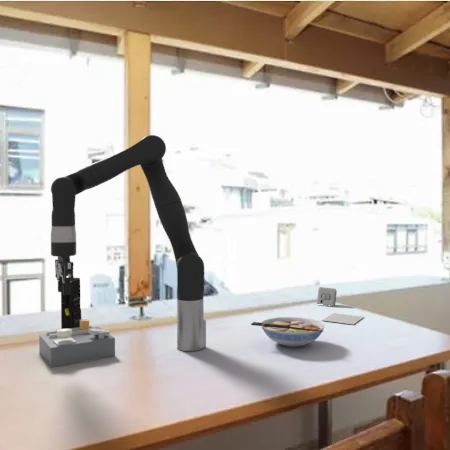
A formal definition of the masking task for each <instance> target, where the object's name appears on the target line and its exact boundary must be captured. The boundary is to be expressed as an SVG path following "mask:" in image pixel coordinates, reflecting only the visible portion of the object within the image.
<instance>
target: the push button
mask: <svg viewBox="0 0 450 450" xmlns="http://www.w3.org/2000/svg"><path fill="white" fill-rule="evenodd" d="M56 331H57V338H61V339H63V338H69V337H72V329H61V328H60V329H57V330H56Z"/></svg>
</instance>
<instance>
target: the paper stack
mask: <svg viewBox="0 0 450 450" xmlns="http://www.w3.org/2000/svg"><path fill="white" fill-rule="evenodd" d="M362 319H364V316H361V315H360V316H359V315H353V314H344V313H337V312H336V313H335V312H333V313H331V314H330V315H328V316H327V317H325V318H323V319H322V321H325V322H330V323H331V322H332V323H333V322H334V323H339V324H346V325H355V324H356V323H357V322H359V321H360V320H362Z"/></svg>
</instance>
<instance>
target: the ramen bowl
mask: <svg viewBox="0 0 450 450" xmlns="http://www.w3.org/2000/svg"><path fill="white" fill-rule="evenodd" d="M250 325H251V326H255V327H256V326H259V327H261V329H262V330H263V332H264V333H265V335H266V336H267V337H268V338H269V339H270V340H271V341H272V342H274V343H277V344H279V345H282V346H284V347H287V348H300V347H302V346H305V345H308V344H310V343H313V342H314V341H316V340H317V339H318V338H319V337H320V336H321V334H322V333H323V332H324V329H325V324H324V323H323V322H321V321H319V320H315V319H312V318H306V317H297V316H296V317H295V316H282V317H281V316H279V317H272V318H267V319H264V320H262V321H261V322H260V321H259V322H257V321H252V322H251V324H250Z"/></svg>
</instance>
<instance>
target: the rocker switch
mask: <svg viewBox="0 0 450 450" xmlns="http://www.w3.org/2000/svg"><path fill="white" fill-rule="evenodd" d="M88 332H89V333H90V334H91V335H99V333H100V332H104V335H106V336H109V334H110V333H111V332H110V331H109V330H108V329H104V328H101V329H89V331H88ZM110 335H111V334H110Z"/></svg>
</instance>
